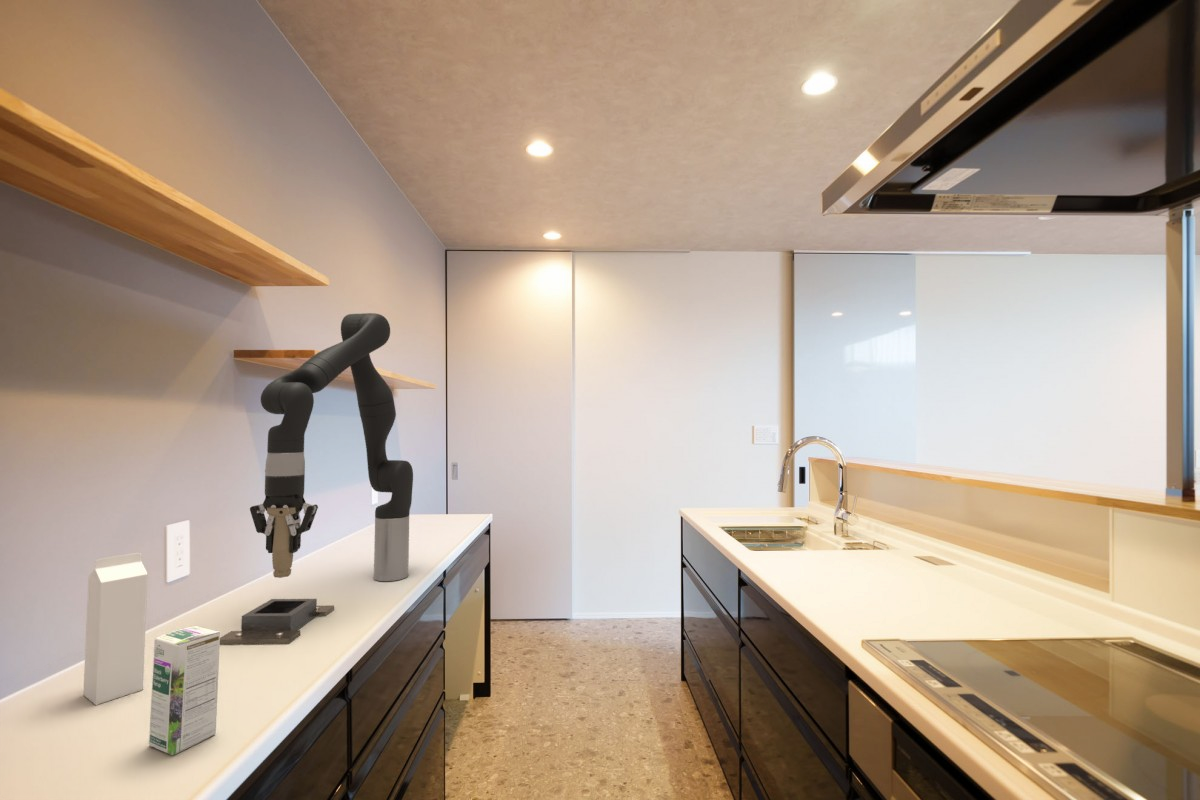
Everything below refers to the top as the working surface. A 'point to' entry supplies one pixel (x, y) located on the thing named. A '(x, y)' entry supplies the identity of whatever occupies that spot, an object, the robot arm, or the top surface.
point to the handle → (281, 542)
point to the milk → (115, 628)
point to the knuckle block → (276, 622)
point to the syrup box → (184, 688)
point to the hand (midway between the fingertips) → (282, 551)
